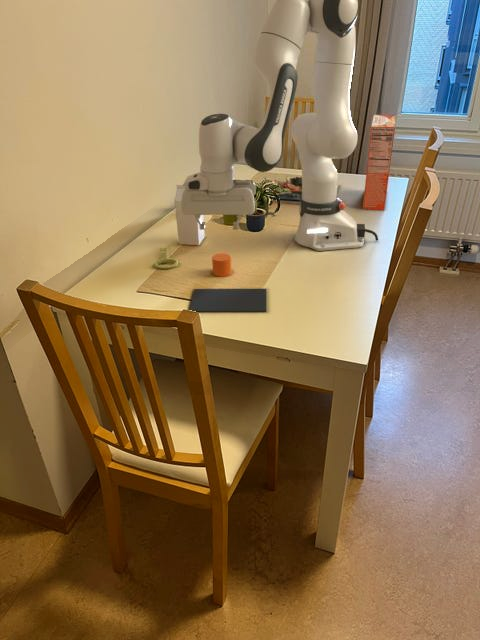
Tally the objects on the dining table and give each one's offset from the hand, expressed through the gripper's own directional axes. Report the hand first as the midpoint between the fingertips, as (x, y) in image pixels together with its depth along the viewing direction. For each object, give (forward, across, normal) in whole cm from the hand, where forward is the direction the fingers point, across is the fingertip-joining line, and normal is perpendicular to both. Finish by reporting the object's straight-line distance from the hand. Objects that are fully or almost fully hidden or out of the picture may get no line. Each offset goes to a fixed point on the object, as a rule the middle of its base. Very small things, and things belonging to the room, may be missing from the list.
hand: (219, 229), depth 141 cm
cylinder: (+14, 0, 0) cm, 14 cm away
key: (+14, +18, -8) cm, 24 cm away
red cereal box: (+13, -57, -64) cm, 87 cm away
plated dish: (+13, -25, -75) cm, 80 cm away
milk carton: (+14, +12, -24) cm, 30 cm away
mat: (+14, -3, +17) cm, 22 cm away
